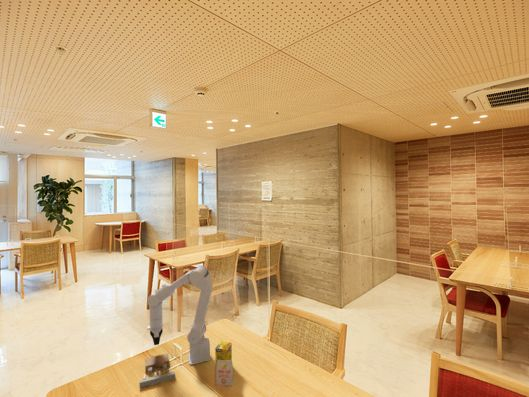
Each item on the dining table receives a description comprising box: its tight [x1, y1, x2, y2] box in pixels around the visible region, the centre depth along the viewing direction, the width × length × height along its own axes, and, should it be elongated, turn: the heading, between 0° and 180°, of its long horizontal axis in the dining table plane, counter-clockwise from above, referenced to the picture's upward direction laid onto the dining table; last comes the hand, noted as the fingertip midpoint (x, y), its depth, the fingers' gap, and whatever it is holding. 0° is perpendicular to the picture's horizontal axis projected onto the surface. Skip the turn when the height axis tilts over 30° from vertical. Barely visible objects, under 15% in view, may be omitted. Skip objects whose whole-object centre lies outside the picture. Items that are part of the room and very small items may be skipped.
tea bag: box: [214, 359, 234, 388], centre depth 115 cm, size 4×7×10 cm, turn 85°
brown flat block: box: [144, 353, 170, 375], centre depth 126 cm, size 10×9×3 cm
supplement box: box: [214, 340, 233, 363], centre depth 124 cm, size 6×6×11 cm
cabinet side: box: [139, 367, 176, 389], centre depth 117 cm, size 14×4×2 cm, turn 112°
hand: (156, 344), depth 134 cm, fingers closed
